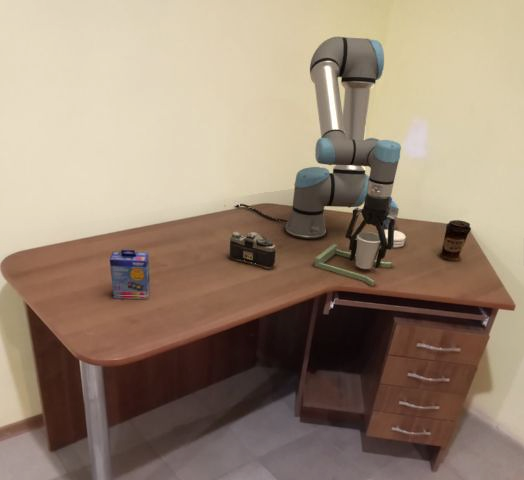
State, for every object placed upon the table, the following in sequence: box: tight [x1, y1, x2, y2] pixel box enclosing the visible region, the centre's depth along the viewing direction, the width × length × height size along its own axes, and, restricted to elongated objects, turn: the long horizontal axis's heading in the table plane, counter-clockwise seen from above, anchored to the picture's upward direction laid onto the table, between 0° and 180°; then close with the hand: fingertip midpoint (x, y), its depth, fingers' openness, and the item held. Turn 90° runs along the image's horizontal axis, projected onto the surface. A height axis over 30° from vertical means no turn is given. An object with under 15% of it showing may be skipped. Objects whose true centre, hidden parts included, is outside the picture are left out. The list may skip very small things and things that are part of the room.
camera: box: [229, 231, 277, 270], centre depth 170 cm, size 16×10×10 cm, turn 65°
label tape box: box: [383, 195, 400, 230], centre depth 207 cm, size 9×4×12 cm, turn 179°
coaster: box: [384, 229, 406, 249], centre depth 194 cm, size 10×10×4 cm
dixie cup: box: [355, 231, 381, 270], centre depth 169 cm, size 8×8×10 cm
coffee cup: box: [440, 219, 472, 261], centre depth 184 cm, size 9×8×13 cm
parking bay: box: [313, 243, 392, 287], centre depth 173 cm, size 21×18×3 cm
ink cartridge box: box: [109, 249, 151, 300], centre depth 143 cm, size 10×6×14 cm, turn 95°
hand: (364, 263), depth 171 cm, fingers closed on dixie cup, 8 cm apart
